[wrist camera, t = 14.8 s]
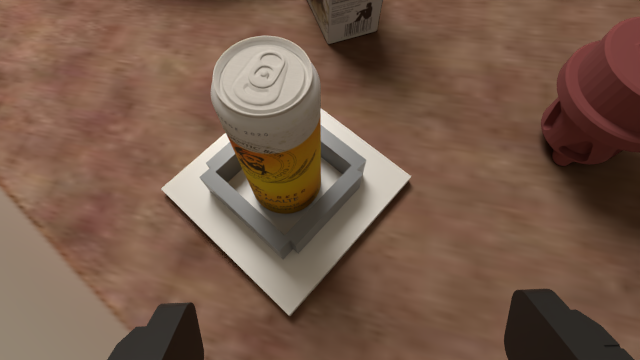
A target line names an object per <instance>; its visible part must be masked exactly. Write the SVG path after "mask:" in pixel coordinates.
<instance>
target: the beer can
mask: <svg viewBox="0 0 640 360" xmlns="http://www.w3.org/2000/svg"><path fill="white" fill-rule="evenodd" d="M211 100H212V103H213V106H214V108H215V111H216V113H217V115H218V117H219V119H220V121H221V124H222V126H223V128H224V130H225V132H226V135H227V137H228V139H229V141H230V143H231V145H232V148H233V150H234V152H235V154H236V156H237V158H238V161H239V163H240V165H241V167H242V169H243V171H244V174H245V176H246V178H247V180H248V182H249V184H250V187H251V189H252V191H253V193H254V195H255V197H256V199H257V201H258V202H259V203H260V204H261V205H262V206H263V207H265V208H266V209H268V210H270V211H272V212H275V213H280V214H290V213H295V212H298V211H301V210H303V209H304V208H306V207H307V206H309V205H310V204H311V203H312V202H313V201H314V200H315V198H316V197H317V195H318V193H319V190H320V186H321V97H320V79H319V75H318V73H317V71H316V69H315V67H314V66H313V64H312V63H311V62H310V59H309V57H308V56H307V54H306V53H305V52H304V51H303V50H302V49H301V48H300V47H299V46H298V45H296V44H295V43H293V42H291V41H289V40H287V39H284V38H280V37H275V36H257V37H252V38H248V39H245V40H242V41H240V42H238V43H236V44H234V45H233V46H231V47H230V48H229V49H227V50H226V51H225V52H224V53H223V54H222V55H221V57H220V58H219V60H218V61H217V63H216V65H215V68H214V71H213V82H212V86H211Z"/></svg>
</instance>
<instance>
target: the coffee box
mask: <svg viewBox="0 0 640 360" xmlns="http://www.w3.org/2000/svg"><path fill="white" fill-rule="evenodd" d="M307 1H308V3H309V5H310V7H311V9H312V11H313V14H314V16H315V18H316V20H317V22H318V24H319V26H320V28H321V31H322V33H323V35H324V37H325V39H326V41H327V43H328V44H331V43H335V42H338V41H342V40H346V39H349V38H353V37H357V36H360V35H364V34H368V33H371V32H375V31H377V28H378V23H379V17H380V12H381V7H382V2H383V0H307Z"/></svg>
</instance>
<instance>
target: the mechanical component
mask: <svg viewBox="0 0 640 360" xmlns="http://www.w3.org/2000/svg"><path fill="white" fill-rule="evenodd" d="M557 93H558V98H557V99H556V100H555V101H554V102H553V103H552V104H551V105H550V106H549V107H548V108H547V109H546V110H545V112H544V113H543V116H542V120H541V127H542V132H543V135H544V137H545V139H546V140H547V142H548V143H549V145H550V146H551V147H552V148H553V149H554V150H553V156H552V157H553V160H554V161H555V163H557V164H558V165H561V166H567V165H568V164H570V163H571V162H573V161H574V162H577V163H581V164H598V163H602V162H605V161H607V160H609V159H610V158H612V157H613V156H615V155H616V154H618V153H619V152H621V151H622V150H625V151H630V152H640V17H634V18H630V19H626V20H624V21H621V22H619V23H618V24H617V25H615V26H614V27H613V28H612V29H611V30H610V31H609V32H608V33H607V34H606V35H605V36H604V37H603V39H602V40H600V41H596V42H592V43H589V44H587V45H584V46H583V47H581V48H580V49H578V50H577V51H576V52H575V53H574V54H573V55H572V56H571V57H570V58H569V60H568V61H567V62H566V63H565V64H564V65H563V67H562V68H561V70H560V72H559V75H558V78H557Z"/></svg>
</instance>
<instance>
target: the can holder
mask: <svg viewBox="0 0 640 360" xmlns="http://www.w3.org/2000/svg"><path fill="white" fill-rule="evenodd" d="M410 178H411V176H410V175H409V174H407V173H406V172H405V171H403V170H402V169H401V168H399V167H398V166H397V165H395V164H394V163H393V162H391V161H390V160H389V159H387V158H386V157H385V156H383V155H382V154H381V153H379V152H378V151H377V150H375V149H374V148H373V147H371V146H370V145H369V144H368V143H366V142H365V141H364V140H362V139H361V138H360V137H358V136H357V135H356V134H354V133H353V132H352V131H350V130H349V129H348V128H346V127H345V126H344V125H342V124H341V123H340V122H338V121H337V120H336V119H334V118H333V117H332V116H330V115H329V114H328V113H326V112H325V111H324V110H322V109H321V186H320V190H319V193H318V195H317V197H316V198H315V200H314V201H313V202H312V203H311V204H310V205H309V206H307V207H306V208H304V209H303V210H301V211H298V212H295V213H290V214H280V213H275V212H272V211H270V210H268V209H266V208H265V207H263V206H262V205H261V204H260V203H259V202H258V201H257V199H256V197H255V195H254V193H253V191H252V189H251V187H250V184H249V182H248V180H247V178H246V176H245V174H244V171H243V169H242V167H241V165H240V163H239V161H238V158H237V156H236V154H235V152H234V150H233V148H232V145H231V143H230V141H229V139H228V137H227V135H226V133H225V134H224V135H223V136H221V137H220V138H219V139H218V140H217V141H216V142H215V143H213V144H212V145H211V146H210V147H209V148H208V149H206V150H205V151H204V152H203V153H202V154H201V155H200V156H198V157H197V158H196V159H195V160H194V161H193V162H191V163H190V164H189V165H188V166H187V167H186V168H184V169H183V170H182V171H181V172H180V173H179V174H178V175H176V176H175V177H174V178H173V179H172V180H171V181H169V182H168V183H167V184H166V185H165V186H164V187H163V188H161V189H162V190H163V191H164V192H165V193H166V194H167V195H168V196H169V197H170V198H171V199H172V200H173V201H174V202H175V203H176V204H177V205H178V206H179V207H180V208H181V209H182V210H183V211H184V212H185V213H186V214H187V215H188V216H189V217H190V218H191V219H192V220H193V221H194V222H195V223H196V224H197V225H198V226H199V227H200V228H201V229H202V230H203V231H204V232H205V233H206V234H207V235H208V236H209V237H210V238H211V239H212V240H213V241H214V242H215V243H216V244H217V245H218V246H219V247H220V248H221V249H222V250H223V251H224V252H225V253H226V254H227V255H228V256H229V257H230V258H231V259H232V260H233V261H234V262H235V263H236V264H237V265H238V266H239V267H240V268H241V269H242V270H243V271H244V272H245V273H246V274H247V275H248V276H249V277H250V278H252V279H253V280H254V281H255V282H256V283H257V284H258V285H259V286H260V287H261V288H262V289H263V290H264V291H265V292H266V293H267V294H268V295H269V296H270V297H271V298H272V299H273V300H274V301H275V302H276V303H277V304H278V305H279V306H280V307H281V308H282V309H283V310H284V311H285V312H286V313H287V314H288V315H289V316H291V315H292V314H293V313H294V311H295V310H296V309H297V308H298V307H299V306H300V305H301V303H302V302H303V301H304V300H305V299H306V298H307V297H308V295H309V294H310V293H311V292H312V291H313V290H314V289H315V287H316V286H317V285H318V284H319V283H320V282H321V281H322V279H323V278H324V277H325V276H326V275H327V274H328V273H329V271H330V270H331V269H332V268H333V267H334V266H335V265H336V263H337V262H338V261H339V260H340V259H341V258H342V257H343V255H344V254H345V253H346V252H347V251H348V250H349V249H350V248H351V246H352V245H353V244H354V243H355V242H356V241H357V240H358V238H359V237H360V236H361V235H362V234H363V233H364V232H365V230H366V229H367V228H368V227H369V226H370V225H371V224H372V222H373V221H374V220H375V219H376V218H377V217H378V216H379V214H380V213H381V212H382V211H383V210H384V209H385V208H386V206H387V205H388V204H389V203H390V202H391V201H392V200H393V198H394V197H395V196H396V195H397V194H398V193H399V192H400V190H401V189H402V188H403V187H404V186H405V185H406V184H407V182H408V181H409V180H410Z"/></svg>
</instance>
